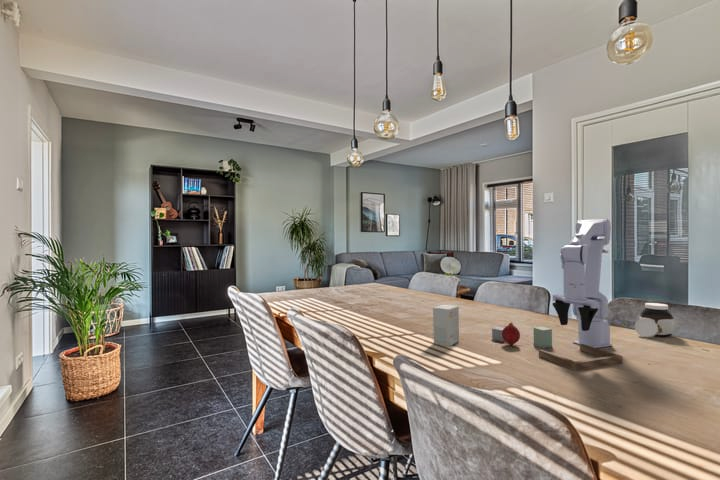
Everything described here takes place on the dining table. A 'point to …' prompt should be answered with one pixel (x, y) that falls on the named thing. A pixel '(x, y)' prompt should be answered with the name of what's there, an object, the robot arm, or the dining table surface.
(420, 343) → the dining table surface
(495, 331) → the light gray block
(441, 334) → the small box
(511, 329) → the red round fruit
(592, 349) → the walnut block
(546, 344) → the sage block
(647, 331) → the spread jar
